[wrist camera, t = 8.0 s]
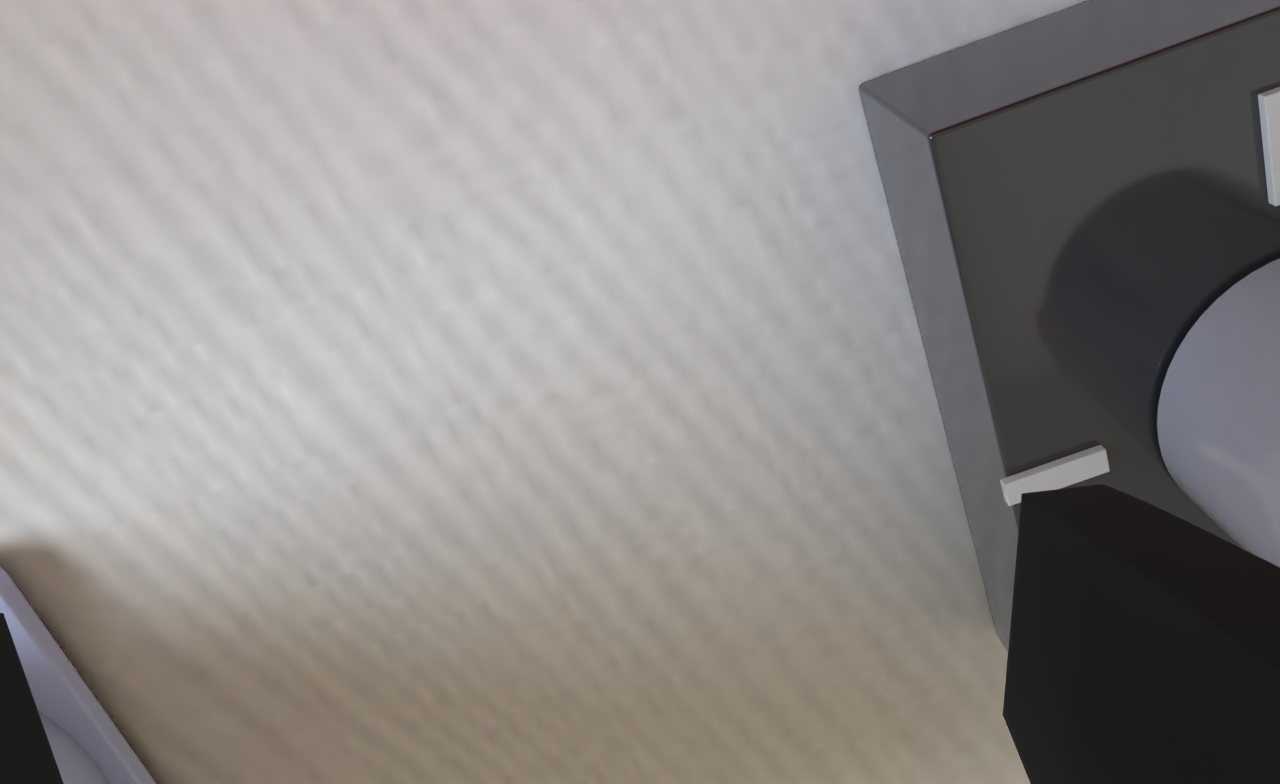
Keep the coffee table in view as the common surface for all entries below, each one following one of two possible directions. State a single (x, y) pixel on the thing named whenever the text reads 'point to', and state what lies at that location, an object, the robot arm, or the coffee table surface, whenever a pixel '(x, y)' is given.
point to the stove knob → (1230, 413)
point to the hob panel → (1076, 237)
